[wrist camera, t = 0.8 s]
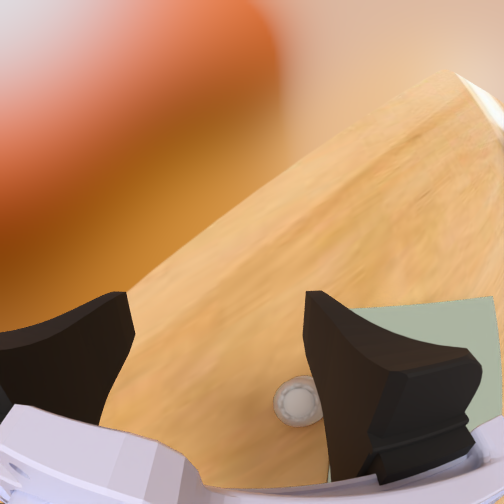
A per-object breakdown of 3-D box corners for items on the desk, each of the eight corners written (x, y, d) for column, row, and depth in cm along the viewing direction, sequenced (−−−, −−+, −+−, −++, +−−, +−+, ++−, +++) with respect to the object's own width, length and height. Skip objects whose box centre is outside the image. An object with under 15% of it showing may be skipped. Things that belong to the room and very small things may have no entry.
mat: (495, 451, 14) (498, 452, 14) (326, 484, 18) (327, 486, 17) (489, 298, 22) (492, 296, 21) (333, 311, 25) (333, 309, 25)
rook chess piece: (333, 377, 23) (341, 369, 16) (325, 427, 21) (330, 441, 14) (281, 373, 24) (267, 362, 17) (273, 421, 22) (255, 432, 15)
